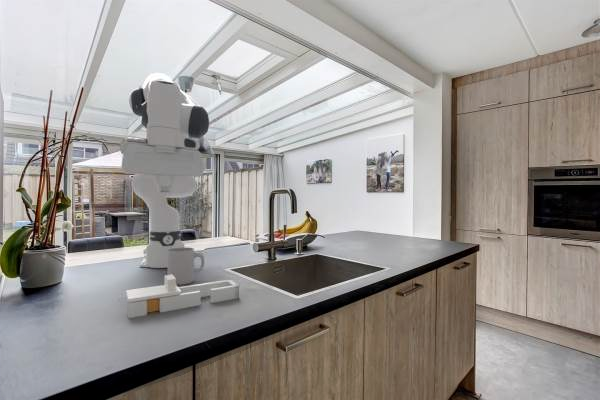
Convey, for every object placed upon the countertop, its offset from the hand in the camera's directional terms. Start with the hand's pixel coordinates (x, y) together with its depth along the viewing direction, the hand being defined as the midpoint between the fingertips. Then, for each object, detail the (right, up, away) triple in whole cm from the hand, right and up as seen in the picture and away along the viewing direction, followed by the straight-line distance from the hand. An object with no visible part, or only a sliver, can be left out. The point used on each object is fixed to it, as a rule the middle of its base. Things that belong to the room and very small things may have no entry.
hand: (164, 192), depth 83 cm
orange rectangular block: (-1, -30, -4) cm, 31 cm away
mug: (-2, -30, +22) cm, 37 cm away
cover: (-1, -26, -4) cm, 27 cm away
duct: (+6, -30, +1) cm, 31 cm away
